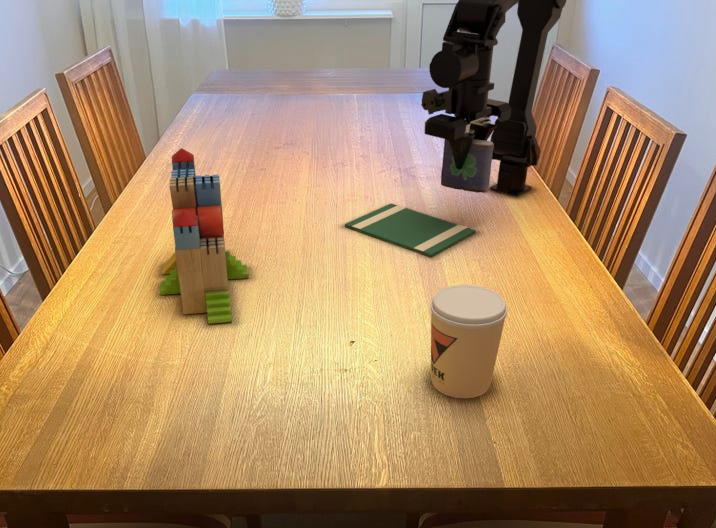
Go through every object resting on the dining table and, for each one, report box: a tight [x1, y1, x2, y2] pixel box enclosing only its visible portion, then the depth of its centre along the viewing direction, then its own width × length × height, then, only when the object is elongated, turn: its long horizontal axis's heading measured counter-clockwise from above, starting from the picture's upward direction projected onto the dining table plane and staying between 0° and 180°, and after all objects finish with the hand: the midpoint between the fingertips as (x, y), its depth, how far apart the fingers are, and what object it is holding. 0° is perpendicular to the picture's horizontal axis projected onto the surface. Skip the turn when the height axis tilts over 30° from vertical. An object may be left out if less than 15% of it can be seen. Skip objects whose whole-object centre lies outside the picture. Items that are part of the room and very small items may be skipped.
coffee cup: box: [429, 284, 508, 399], centre depth 94 cm, size 9×9×12 cm
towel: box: [344, 203, 477, 258], centre depth 139 cm, size 14×20×1 cm
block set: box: [159, 148, 249, 324], centre depth 116 cm, size 28×14×19 cm, turn 9°
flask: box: [440, 129, 494, 194], centre depth 135 cm, size 9×3×11 cm, turn 61°
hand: (464, 166), depth 135 cm, fingers closed on flask, 3 cm apart
